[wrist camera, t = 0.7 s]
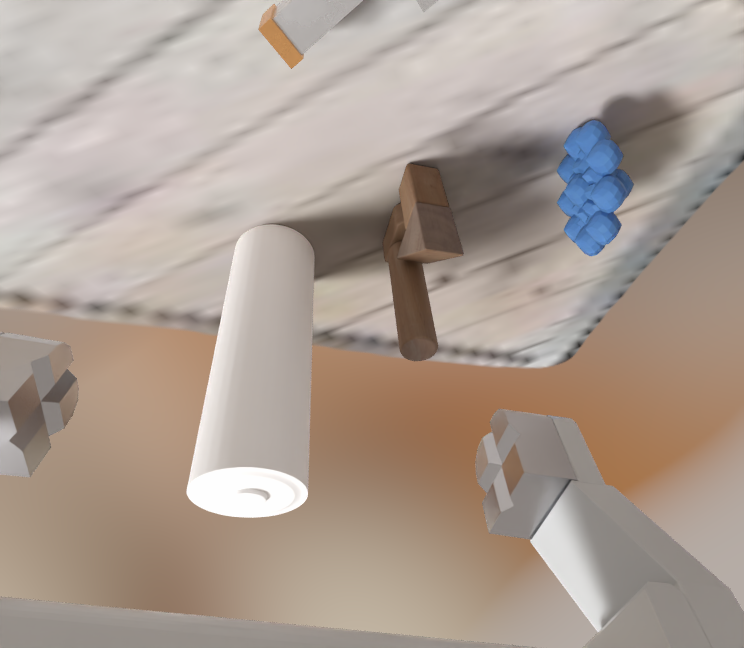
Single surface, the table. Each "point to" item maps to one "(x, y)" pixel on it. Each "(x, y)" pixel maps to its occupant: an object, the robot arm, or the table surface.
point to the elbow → (306, 24)
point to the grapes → (592, 187)
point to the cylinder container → (259, 382)
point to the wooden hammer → (418, 255)
